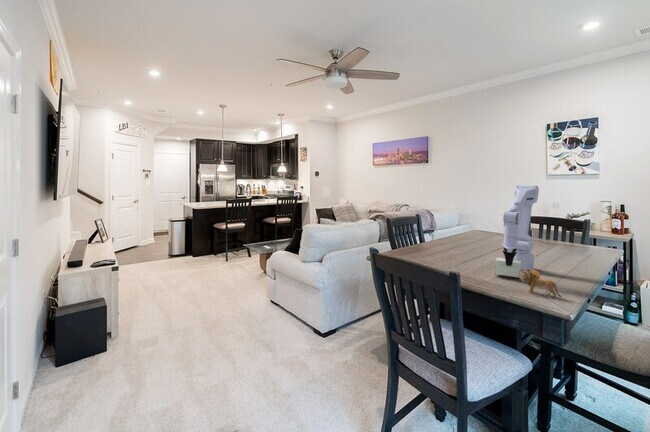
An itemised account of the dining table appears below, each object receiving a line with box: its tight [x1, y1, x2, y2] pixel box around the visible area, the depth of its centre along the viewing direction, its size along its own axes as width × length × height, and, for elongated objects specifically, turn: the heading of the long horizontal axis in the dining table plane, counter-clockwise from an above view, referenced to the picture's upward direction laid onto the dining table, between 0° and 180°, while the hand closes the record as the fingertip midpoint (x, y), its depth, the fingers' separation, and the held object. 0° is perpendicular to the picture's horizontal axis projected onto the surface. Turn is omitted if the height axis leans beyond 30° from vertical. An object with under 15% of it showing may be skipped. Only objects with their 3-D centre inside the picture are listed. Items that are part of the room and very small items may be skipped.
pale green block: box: [494, 257, 522, 279], centre depth 152 cm, size 10×8×7 cm
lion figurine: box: [519, 270, 562, 299], centre depth 129 cm, size 15×5×9 cm, turn 52°
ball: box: [528, 269, 541, 279], centre depth 146 cm, size 5×5×5 cm
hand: (508, 263), depth 152 cm, fingers closed on pale green block, 6 cm apart
